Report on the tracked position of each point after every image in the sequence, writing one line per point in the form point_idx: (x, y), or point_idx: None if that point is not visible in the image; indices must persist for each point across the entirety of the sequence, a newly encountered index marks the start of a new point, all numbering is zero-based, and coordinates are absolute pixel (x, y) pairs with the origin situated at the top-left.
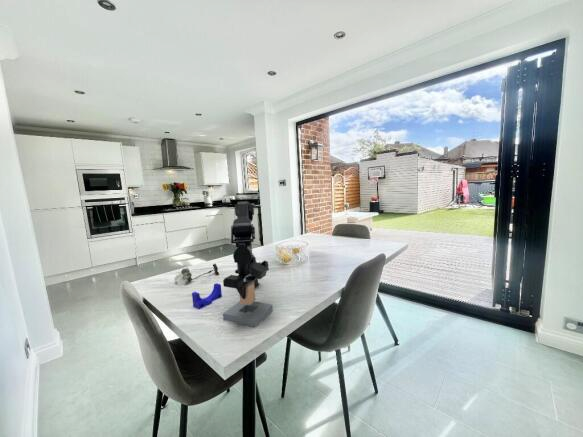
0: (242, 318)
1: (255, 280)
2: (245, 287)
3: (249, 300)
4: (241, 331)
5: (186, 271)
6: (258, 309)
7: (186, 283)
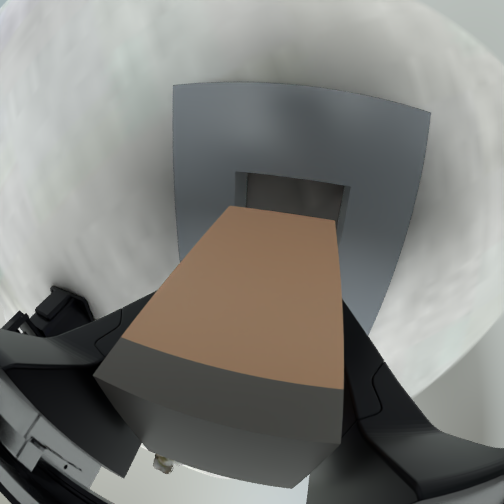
0: (409, 217)
1: (67, 332)
2: (363, 407)
3: (328, 238)
4: (455, 183)
5: (159, 462)
6: (273, 149)
7: None
